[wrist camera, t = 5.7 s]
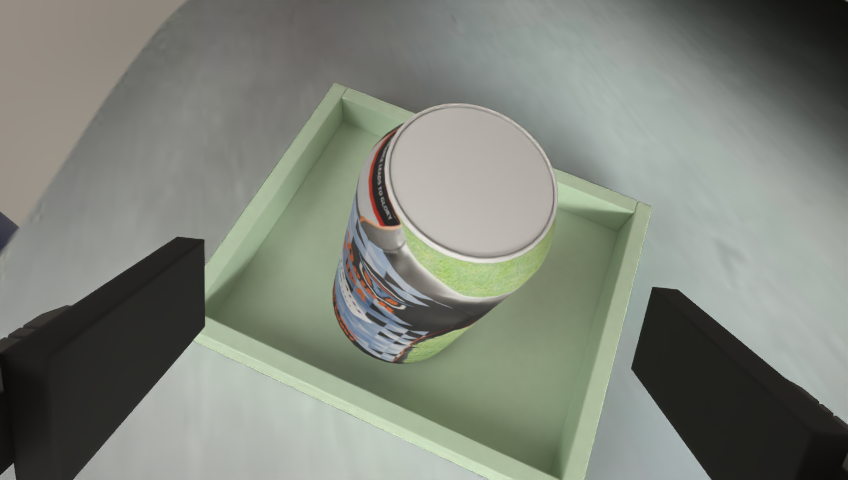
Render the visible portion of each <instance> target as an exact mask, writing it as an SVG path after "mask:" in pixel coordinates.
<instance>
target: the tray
mask: <svg viewBox="0 0 848 480" xmlns="http://www.w3.org/2000/svg"><path fill="white" fill-rule="evenodd" d="M414 115H416V114H415V113H413V112H410V111H407V110H405V109H402V108H400V107H397V106H395V105H392V104H390V103H387V102H384V101H382V100H379V99H377V98H374V97H372V96H369V95H367V94H364V93H362V92H359V91H356V90H354V89H351V88H347V87H346V86H343V85H341V84H338V83H334V84H333V86H332V87H331V89H330V90H329V91H328V93H327V94H326V96H325V97H324V98H323V100H322V101H321V103H320V104H319V106H318V107H317V108H316V110H315V111H314V113H313V114H312V115H311V117H310V118H309V120H308V121H307V123H306V124H305V125H304V127H303V128H302V130H301V131H300V132H299V134H298V135H297V137H296V138H295V140H294V141H293V142H292V144H291V145H290V147H289V148H288V149H287V151H286V152H285V154H284V155H283V157H282V158H281V159H280V161H279V162H278V164H277V165H276V166H275V168H274V169H273V171H272V172H271V173H270V175H269V176H268V178H267V179H266V181H265V182H264V183H263V185H262V186H261V188H260V189H259V190H258V192H257V193H256V195H255V196H254V198H253V199H252V200H251V202H250V203H249V205H248V206H247V207H246V209H245V210H244V212H243V213H242V215H241V216H240V217H239V219H238V220H237V222H236V223H235V224H234V226H233V227H232V229H231V230H230V232H229V233H228V234H227V236H226V237H225V239H224V240H223V241H222V243H221V244H220V246H219V247H218V249H217V250H216V251H215V253H214V254H213V256H212V257H211V258H210V260H209V261H208V263H207V264H206V265H205V327H204V328H203V330H202V331H201V332H200V333H199V334H198V335H197V337H196V338H195V339H194V340H193V341H195V342H197V343H199V344H201V345H204V346H206V347H208V348H210V349H212V350H214V351H216V352H218V353H221V354H223V355H225V356H227V357H229V358H231V359H233V360H236V361H238V362H240V363H242V364H244V365H246V366H248V367H250V368H253V369H255V370H257V371H259V372H261V373H263V374H265V375H268V376H270V377H272V378H274V379H276V380H278V381H280V382H282V383H285V384H287V385H289V386H291V387H293V388H295V389H297V390H300V391H302V392H304V393H306V394H308V395H310V396H312V397H314V398H317V399H319V400H321V401H323V402H325V403H327V404H329V405H332V406H334V407H336V408H338V409H340V410H342V411H344V412H346V413H349V414H351V415H353V416H355V417H357V418H359V419H361V420H364V421H366V422H368V423H370V424H372V425H374V426H376V427H378V428H381V429H383V430H385V431H387V432H389V433H391V434H393V435H396V436H398V437H400V438H402V439H404V440H406V441H408V442H410V443H413V444H415V445H417V446H419V447H421V448H423V449H425V450H428V451H430V452H432V453H434V454H436V455H438V456H440V457H442V458H445V459H447V460H449V461H451V462H453V463H455V464H457V465H460V466H462V467H464V468H466V469H468V470H470V471H472V472H474V473H477V474H479V475H481V476H483V477H485V478H487V479H489V480H584V478H585V474H586V470H587V466H588V462H589V458H590V454H591V450H592V446H593V442H594V438H595V434H596V430H597V426H598V422H599V418H600V414H601V410H602V406H603V402H604V398H605V394H606V390H607V386H608V382H609V378H610V374H611V370H612V366H613V362H614V358H615V354H616V350H617V346H618V342H619V338H620V334H621V330H622V326H623V322H624V318H625V314H626V310H627V306H628V303H629V299H630V295H631V291H632V287H633V283H634V279H635V275H636V271H637V267H638V263H639V259H640V255H641V251H642V247H643V243H644V239H645V235H646V231H647V227H648V223H649V219H650V215H651V211H652V207H651V206H649V205H647V204H644V203H641V202H637V200H635V199H632V198H629V197H627V196H624V195H622V194H619V193H617V192H614V191H612V190H609V189H607V188H604V187H601V186H599V185H596V184H594V183H591V182H589V181H586V180H584V179H581V178H578V177H576V176H573V175H571V174H568V173H566V172H563V171H561V170H558V169H555V168H553V167H552V168H553V170H554V173H555V176H556V181H557V186H558V205H557V211H556V215H555V217H556V224H555V230H554V236H553V241H552V243H551V246H550V249H549V251H548V254H547V256H546V258H545V259H544V261H543V262H542V264H541V266H540V267H539V269H538V270H537V271H536V272H535V273H534V274H533V275H532V276H531V277H530V278H529V279H528V280H527V281H526V282H525V283H524V284H523V285H521V286H520V287H519V288H518V289H516V290H515V291H514V292H513V293H512V294H510V295H509V296H508V297H507V298H505V299H504V300H503V301H502V302H501V303H499V304H498V305H497V306H496V307H494V308H493V309H492V310H491V311H489V312H488V313H487V314H486V315H485V316H483V317H482V318H481V319H480V320H478V321H477V322H476V323H475V324H473V325H472V326H471V327H470V328H469V329H467V330H466V331H465V332H464V333H462V334H461V335H460V336H459V337H458V338H456V339H455V340H454V341H453V342H451V343H450V344H449V345H448V346H446V347H445V348H444V349H443V350H441V351H440V352H438V353H437V354H435V355H434V356H432V357H430V358H428V359H425V360H423V361H419V362H415V363H409V364H396V363H388V362H384V361H381V360H378V359H375V358H373V357H371V356H369V355H367V354H366V353H364V352H362V351H361V350H360V349H359V348H357V347H356V346H355V345H354V344H353V343H352V342H351V341H350V340H349V339H348V338H347V337H346V335H345V334H344V332H343V330H342V329H341V327H340V326H339V323H338V321H337V318H336V316H335V312H334V307H333V292H332V291H333V285H334V279H335V275H336V271H337V267H338V263H339V259H340V254H341V250H342V246H343V242H344V238H345V233H346V229H347V225H348V221H349V217H350V212H351V208H352V204H353V200H354V196H355V191H356V187H357V183H358V179H359V175H360V172H361V170H362V167H363V165H364V162H365V160H366V158H367V156H368V155H369V153H370V152H371V150H372V149H373V147H374V146H375V145H376V144H377V143H378V142H379V141H380V140H381V139H382V138H383V136H384V135H385V134H387V133H388V132H389V131H391V130H392V129H394V128H395V127H397V126H398V125H400V124H402V123H404V122H406V121H407V120H408V119H410V118H411V117H413V116H414Z"/></svg>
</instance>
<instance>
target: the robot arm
mask: <svg viewBox="0 0 848 480" xmlns="http://www.w3.org/2000/svg"><path fill="white" fill-rule="evenodd" d="M204 327H205V254H204V240H203V239H194V238H184V237H176V238H175V239H173V240H172V241H170V242H168V243H167V244H165V245H164V246H162V247H161V248H159V249H158V250H156V251H155V252H153V253H152V254H150V255H149V256H147V257H146V258H144V259H143V260H141V261H139V262H138V263H136V264H135V265H133V266H132V267H130V268H129V269H127V270H126V271H124V272H123V273H121V274H120V275H118V276H117V277H115V278H114V279H112V280H111V281H109V282H107V283H106V284H104V285H103V286H101V287H100V288H98V289H97V290H95V291H94V292H92V293H91V294H89V295H88V296H86V297H85V298H83V299H82V300H80V301H78V302H77V303H75V304H74V305H72V306H69V305H66V306H63V307H60V308H58V309H55V310H52V311H49V312H46V313H43V314H41V315H40V316H38V317H36V318H35V319H33V320H32V321H30V322H28V323H27V324H25V325H24V326H23V328H19V329H17V330H16V331H14V332H12V333H11V334H9V335H8V338H6V337H4V338H3V339H1V340H0V475H1V474H2V473H3V472H4V471H5V470H6V469H7V468H8V467H9V466H11V465H12V464H13V463H14V468H15V475H16V480H73V479H74V478H75V477H76V476H77V474H78V473H79V472H80V471H81V470H82V469H83V467H84V466H85V465H86V464H87V463H88V462H89V460H90V459H91V458H92V457H93V456H94V455H95V454H96V452H97V451H98V450H99V449H100V448H101V447H102V445H103V444H104V443H105V442H106V441H107V440H108V438H109V437H110V436H111V435H112V434H113V433H114V432H115V430H116V429H117V428H118V427H119V426H120V425H121V423H122V422H123V421H124V420H125V419H126V418H127V416H128V415H129V414H130V413H131V412H132V411H133V410H134V408H135V407H136V406H137V405H138V404H139V403H140V401H141V400H142V399H143V398H144V397H145V396H146V394H147V393H148V392H149V391H150V390H151V389H152V388H153V386H154V385H155V384H156V383H157V382H158V381H159V379H160V378H161V377H162V376H163V375H164V374H165V372H166V371H167V370H168V369H169V368H170V367H171V366H172V364H173V363H174V362H175V361H176V360H177V359H178V357H179V356H180V355H181V354H182V353H183V352H184V350H185V349H186V348H187V347H188V346H189V345H190V344H191V342H192V341H193V340H194V339H195V338H196V337H197V335H198V334H199V333H200V332H201V331H202V330H203V328H204ZM631 369H632V371H633V372H634V373H635V375H636V376H637V377H638V379H639V380H640V382H641V383H642V384H643V386H644V387H645V388H646V390H647V391H648V393H649V394H650V395H651V397H652V398H653V400H654V401H655V402H656V404H657V405H658V406H659V408H660V409H661V411H662V412H663V413H664V415H665V416H666V418H667V419H668V420H669V422H670V423H671V424H672V426H673V427H674V429H675V430H676V431H677V433H678V434H679V436H680V437H681V438H682V440H683V441H684V442H685V444H686V445H687V447H688V448H689V449H690V451H691V452H692V453H693V455H694V456H695V458H696V459H697V460H698V462H699V463H700V465H701V466H702V467H703V469H704V470H705V471H706V473H707V474H708V476H709V477H710V478H711V480H848V425H847V424H846V423H845V422H844V421H842V420H841V419H840V418H839V417H837V416H833V413H832V412H831V411H830V410H829V409H828V408H826V407H825V406H824V405H823V404H819V401H818V400H817V399H815V398H814V397H813V396H812V395H810V394H809V393H808V392H807V391H805V390H804V389H803V388H802V387H800V386H798V385H796V384H795V383H793V382H791V381H789V380H787V379H786V378H784V377H783V376H782V375H781V374H780V373H778V372H777V371H776V370H775V369H773V368H772V367H771V366H770V365H769V364H767V363H766V362H765V361H764V360H763V359H761V358H760V357H759V356H758V355H756V354H755V353H754V352H753V351H752V350H750V349H749V348H748V347H747V346H746V345H744V344H743V343H742V342H741V341H740V340H738V339H737V338H736V337H735V336H733V335H732V334H731V333H730V332H729V331H727V330H726V329H725V328H724V327H723V326H721V325H720V324H719V323H718V322H716V321H715V320H714V319H713V318H712V317H710V316H709V315H708V314H707V313H706V312H704V311H703V310H702V309H701V308H700V307H698V306H697V305H696V304H695V303H693V302H692V301H691V300H690V299H689V298H687V297H686V296H685V295H684V294H683V293H681V292H680V291H679V290H677V289H668V288H658V287H652V291H651V295H650V298H649V302H648V306H647V310H646V314H645V318H644V321H643V325H642V329H641V333H640V337H639V340H638V344H637V348H636V352H635V356H634V360H633V363H632V367H631Z"/></svg>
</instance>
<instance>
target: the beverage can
mask: <svg viewBox="0 0 848 480" xmlns="http://www.w3.org/2000/svg"><path fill="white" fill-rule="evenodd" d="M557 205H558V186H557V181H556V176H555V173H554V170H553V168H552V165H551V162H550V160H549V159H548V157H547V155H546V153H545V152H544V150H543V149H542V147H541V146H540V145H539V143H538V142H537V141H536V140H535V138H534V137H533V136H532V135H530V134H529V133H528V132H527V131H526V130H525V129H524V128H523V127H522V126H520V125H519V124H517V123H516V122H515V121H513V120H512V119H510V118H508V117H506V116H505V115H503V114H501V113H499V112H496V111H494V110H491V109H488V108H486V107H482V106H477V105H473V104H463V103H451V104H442V105H438V106H433V107H430V108H428V109H425V110H423V111H421V112H419V113H417V114H416V115H414V116H413V117H411V118H410V119H408V120H407V121H406V122H404V123H402V124H400V125H398V126H397V127H395V128H394V129H392V130H391V131H389V132H388V133H387V134H385V135H384V136H383V138H382V139H381V140H380V141H379V142H378V143H377V144H376V145H375V146H374V147H373V149H372V150H371V152H370V153H369V155H368V156H367V158H366V160H365V162H364V165H363V167H362V170H361V172H360V175H359V179H358V183H357V187H356V191H355V196H354V200H353V204H352V208H351V212H350V217H349V221H348V225H347V229H346V233H345V238H344V242H343V246H342V250H341V254H340V259H339V263H338V267H337V271H336V275H335V279H334V285H333V291H332V292H333V307H334V312H335V316H336V318H337V321H338V323H339V326H340V327H341V329H342V330H343V332H344V334H345V335H346V337H347V338H348V339H349V340H350V341H351V342H352V343H353V344H354V345H355V346H356V347H357V348H359V349H360V350H361V351H362V352H364V353H366V354H367V355H369V356H371V357H373V358H375V359H378V360H381V361H384V362H388V363H396V364H409V363H415V362H419V361H423V360H425V359H428V358H430V357H432V356H434V355H435V354H437V353H438V352H440V351H441V350H443V349H444V348H445V347H446V346H448V345H449V344H450V343H451V342H453V341H454V340H455V339H456V338H458V337H459V336H460V335H461V334H462V333H464V332H465V331H466V330H467V329H469V328H470V327H471V326H472V325H473V324H475V323H476V322H477V321H478V320H480V319H481V318H482V317H483V316H485V315H486V314H487V313H488V312H489V311H491V310H492V309H493V308H494V307H496V306H497V305H498V304H499V303H501V302H502V301H503V300H504V299H505V298H507V297H508V296H509V295H510V294H512V293H513V292H514V291H515V290H516V289H518V288H519V287H520V286H521V285H523V284H524V283H525V282H526V281H527V280H528V279H529V278H530V277H531V276H532V275H533V274H534V273H535V272H536V271H537V270H538V269H539V267H540V266H541V264H542V262H543V261H544V259H545V258H546V256H547V254H548V251H549V249H550V246H551V243H552V241H553V236H554V230H555V224H556V217H555V215H556V211H557Z"/></svg>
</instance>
